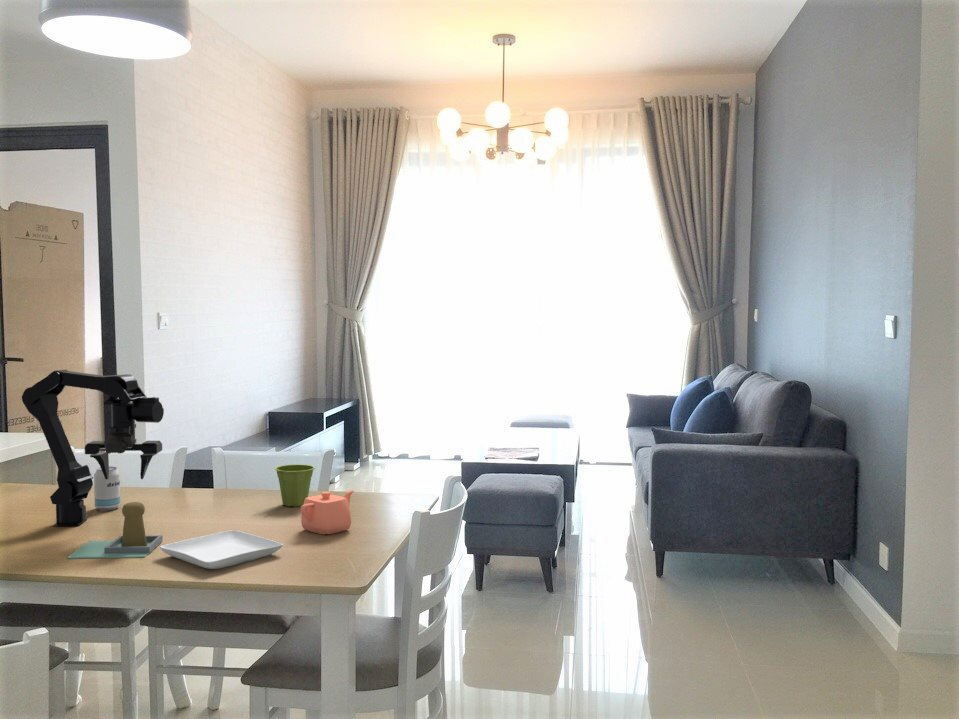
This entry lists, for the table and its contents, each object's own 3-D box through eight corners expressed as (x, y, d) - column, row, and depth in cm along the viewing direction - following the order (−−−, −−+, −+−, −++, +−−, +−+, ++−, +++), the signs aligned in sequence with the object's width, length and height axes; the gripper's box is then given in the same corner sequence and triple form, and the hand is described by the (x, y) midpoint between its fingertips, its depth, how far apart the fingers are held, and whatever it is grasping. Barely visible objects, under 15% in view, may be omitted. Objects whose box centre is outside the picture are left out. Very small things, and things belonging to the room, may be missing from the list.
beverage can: (107, 512, 247) (106, 471, 247) (89, 510, 250) (88, 469, 249) (125, 507, 254) (124, 467, 253) (107, 505, 256) (106, 465, 256)
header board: (66, 558, 203) (66, 551, 203) (89, 542, 217) (89, 535, 217) (146, 557, 204) (146, 550, 204) (163, 541, 218) (163, 534, 218)
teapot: (287, 532, 227) (287, 494, 226) (340, 520, 240) (340, 483, 240) (315, 540, 219) (314, 500, 219) (368, 527, 233) (368, 489, 232)
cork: (131, 551, 208) (130, 506, 207) (115, 547, 211) (114, 503, 210) (152, 545, 213) (151, 502, 212) (136, 542, 216) (136, 499, 215)
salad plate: (233, 540, 220) (233, 527, 220) (285, 556, 207) (285, 542, 207) (157, 559, 204) (157, 545, 204) (208, 577, 190) (208, 562, 190)
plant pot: (321, 505, 257) (321, 468, 257) (283, 510, 251) (283, 472, 250) (305, 498, 267) (305, 462, 266) (269, 503, 260) (268, 466, 260)
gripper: (75, 426, 221) (77, 485, 222) (149, 425, 223) (150, 485, 224) (91, 420, 232) (93, 477, 233) (162, 419, 234) (163, 476, 235)
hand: (124, 479), depth 231 cm, fingers open, 9 cm apart
